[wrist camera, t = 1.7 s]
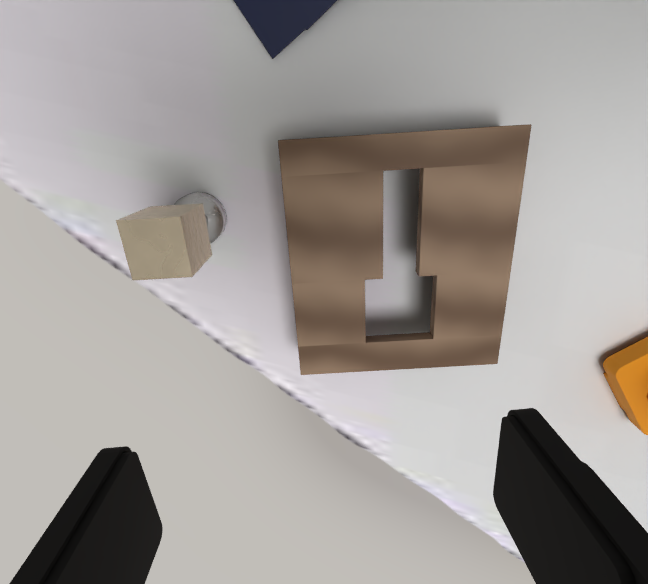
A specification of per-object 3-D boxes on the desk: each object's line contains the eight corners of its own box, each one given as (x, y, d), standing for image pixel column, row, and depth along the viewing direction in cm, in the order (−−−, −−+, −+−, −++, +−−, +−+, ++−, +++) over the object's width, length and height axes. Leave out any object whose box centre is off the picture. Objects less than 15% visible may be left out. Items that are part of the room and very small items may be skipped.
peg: (172, 193, 33) (112, 217, 23) (222, 190, 33) (182, 213, 23) (182, 242, 35) (130, 283, 25) (230, 239, 34) (195, 279, 25)
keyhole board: (284, 139, 31) (277, 140, 27) (499, 126, 31) (531, 124, 26) (303, 346, 39) (300, 374, 34) (476, 336, 39) (497, 363, 34)
